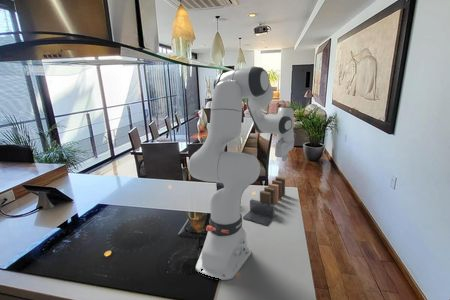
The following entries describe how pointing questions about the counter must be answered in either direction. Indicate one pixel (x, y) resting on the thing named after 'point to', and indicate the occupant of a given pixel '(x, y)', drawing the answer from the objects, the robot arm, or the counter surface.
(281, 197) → the tile
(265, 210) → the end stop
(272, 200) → the tile
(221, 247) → the robot arm
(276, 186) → the tile
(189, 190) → the counter surface
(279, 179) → the end tile
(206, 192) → the counter surface
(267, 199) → the tile
